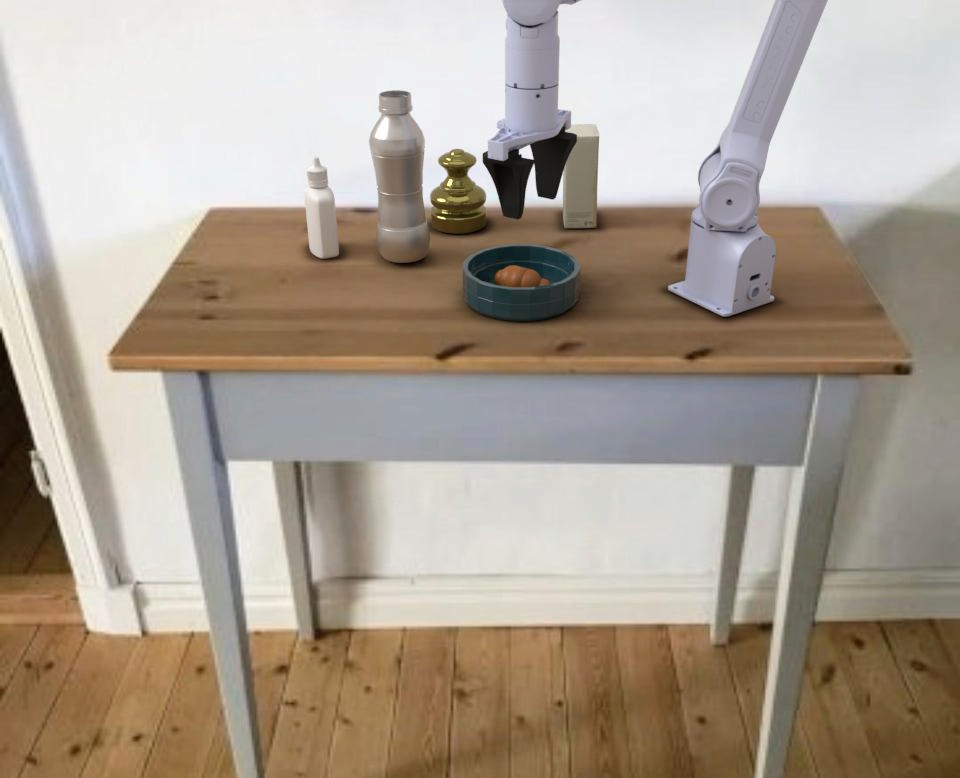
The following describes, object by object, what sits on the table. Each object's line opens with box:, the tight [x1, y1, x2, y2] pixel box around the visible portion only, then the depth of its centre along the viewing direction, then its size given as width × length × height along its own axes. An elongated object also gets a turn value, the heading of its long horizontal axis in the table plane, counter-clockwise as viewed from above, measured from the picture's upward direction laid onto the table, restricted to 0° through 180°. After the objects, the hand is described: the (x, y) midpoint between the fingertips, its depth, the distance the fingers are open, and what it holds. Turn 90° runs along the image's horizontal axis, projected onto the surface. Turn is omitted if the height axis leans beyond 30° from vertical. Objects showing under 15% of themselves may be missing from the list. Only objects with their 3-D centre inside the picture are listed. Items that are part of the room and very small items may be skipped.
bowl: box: [462, 243, 581, 322], centre depth 122 cm, size 13×13×4 cm
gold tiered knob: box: [429, 148, 487, 235], centre depth 140 cm, size 7×7×10 cm
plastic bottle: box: [368, 89, 431, 264], centre depth 128 cm, size 6×7×20 cm
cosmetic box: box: [562, 123, 600, 229], centre depth 140 cm, size 6×4×12 cm
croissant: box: [494, 265, 551, 287], centre depth 122 cm, size 4×8×3 cm, turn 57°
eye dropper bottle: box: [304, 156, 340, 260], centre depth 132 cm, size 4×6×12 cm
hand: (529, 207), depth 121 cm, fingers open, 7 cm apart
